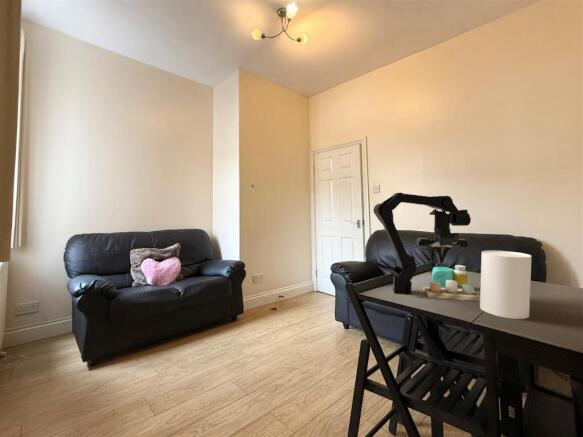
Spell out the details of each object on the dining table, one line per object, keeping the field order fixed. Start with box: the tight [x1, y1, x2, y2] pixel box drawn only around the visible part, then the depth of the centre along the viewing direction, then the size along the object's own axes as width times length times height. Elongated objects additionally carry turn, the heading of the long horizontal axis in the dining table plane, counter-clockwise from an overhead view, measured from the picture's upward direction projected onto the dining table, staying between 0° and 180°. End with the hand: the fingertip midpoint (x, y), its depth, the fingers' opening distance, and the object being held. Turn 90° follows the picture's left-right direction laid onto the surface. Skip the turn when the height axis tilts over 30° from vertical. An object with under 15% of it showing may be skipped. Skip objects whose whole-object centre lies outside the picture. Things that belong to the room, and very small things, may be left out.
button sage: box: [462, 283, 475, 295], centre depth 111 cm, size 4×4×4 cm
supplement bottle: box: [453, 264, 468, 289], centre depth 123 cm, size 5×5×10 cm
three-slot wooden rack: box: [422, 286, 480, 302], centre depth 113 cm, size 19×10×2 cm, turn 75°
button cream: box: [446, 280, 457, 293], centre depth 113 cm, size 4×4×4 cm
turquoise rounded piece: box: [431, 266, 454, 288], centre depth 126 cm, size 8×8×8 cm
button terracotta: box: [429, 281, 441, 293], centre depth 114 cm, size 4×4×4 cm
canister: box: [479, 250, 532, 320], centre depth 96 cm, size 14×14×20 cm
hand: (441, 262), depth 117 cm, fingers closed
